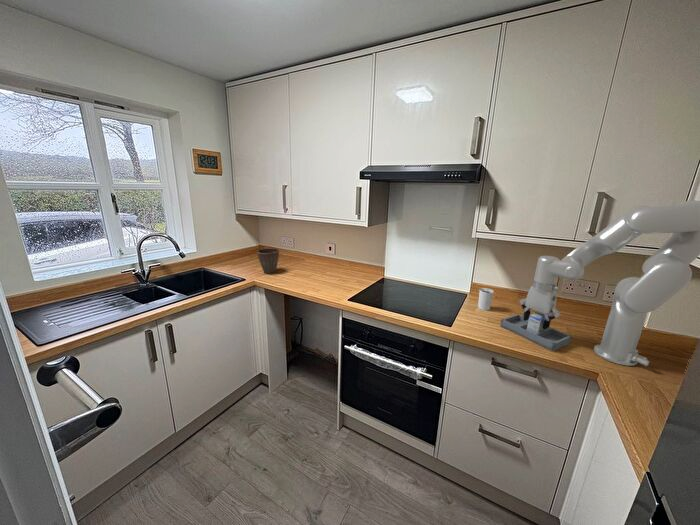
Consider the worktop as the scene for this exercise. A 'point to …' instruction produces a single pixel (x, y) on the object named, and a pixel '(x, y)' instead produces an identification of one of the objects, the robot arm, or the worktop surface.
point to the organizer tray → (545, 338)
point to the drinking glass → (485, 299)
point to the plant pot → (268, 259)
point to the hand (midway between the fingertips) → (535, 323)
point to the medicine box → (536, 322)
